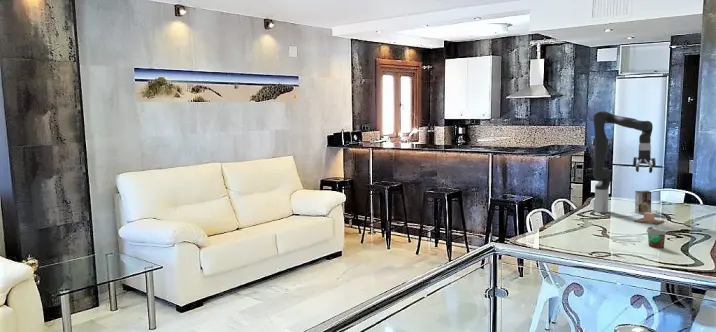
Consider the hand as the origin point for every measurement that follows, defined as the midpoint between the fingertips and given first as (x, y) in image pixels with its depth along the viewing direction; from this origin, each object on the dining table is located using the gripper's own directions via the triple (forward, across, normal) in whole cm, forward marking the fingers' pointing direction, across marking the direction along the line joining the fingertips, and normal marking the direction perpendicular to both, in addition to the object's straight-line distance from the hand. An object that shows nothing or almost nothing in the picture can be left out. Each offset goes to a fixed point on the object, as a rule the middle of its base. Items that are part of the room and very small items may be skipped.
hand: (643, 172), depth 377 cm
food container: (+32, +38, -77) cm, 92 cm away
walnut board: (+32, +10, -14) cm, 36 cm away
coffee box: (+32, -6, +14) cm, 36 cm away
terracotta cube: (+31, +10, -14) cm, 35 cm away
